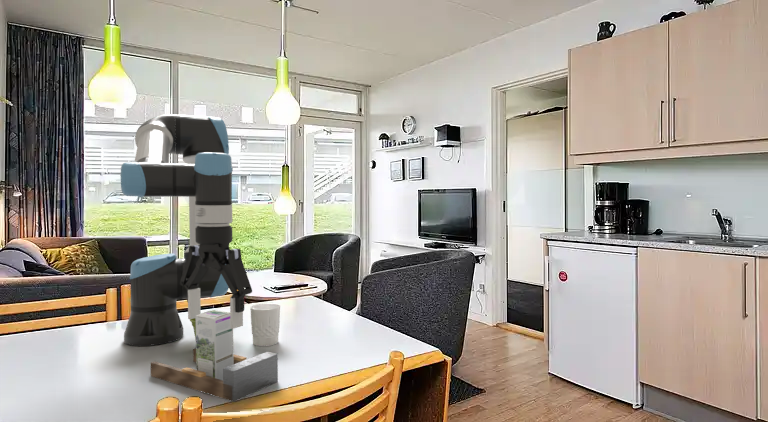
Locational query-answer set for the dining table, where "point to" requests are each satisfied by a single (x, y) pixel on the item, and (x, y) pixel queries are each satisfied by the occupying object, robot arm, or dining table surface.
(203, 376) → the brown parallel rails
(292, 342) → the dining table surface
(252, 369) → the connector block
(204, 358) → the syrup box
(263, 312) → the white cup
